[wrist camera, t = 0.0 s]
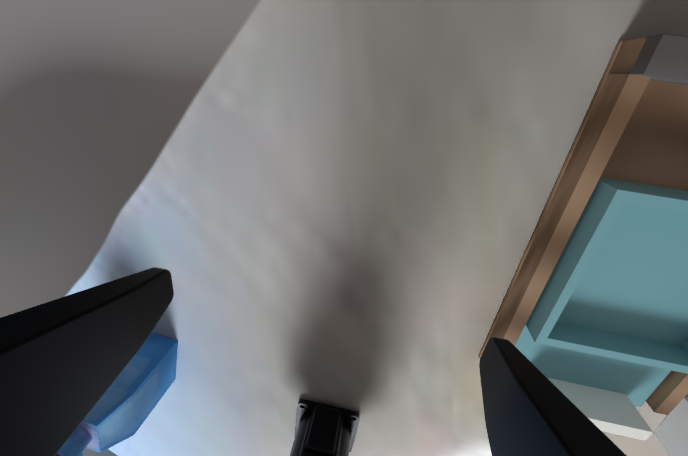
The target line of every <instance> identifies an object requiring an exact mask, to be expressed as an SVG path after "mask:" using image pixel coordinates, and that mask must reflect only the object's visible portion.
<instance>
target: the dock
mask: <svg viewBox="0 0 688 456" xmlns="http://www.w3.org/2000/svg"><path fill="white" fill-rule="evenodd" d="M600 177H605V178H611V179H617V180H623V181H630V182H636V183H642V184H649V185H655V186H661V187H667V188H674V189H680V190H686V191H688V37H681V36H673V35H665V34H662V35H656V36H650V37H644V38H638V39H632V40H625V41H619V42H618V44H617V46H616V48H615V51H614V53H613V55H612V57H611V60H610V62H609V64H608V66H607V69H606V71H605V73H604V75H603V78H602V80H601V82H600V84H599V87H598V89H597V91H596V93H595V96H594V98H593V100H592V102H591V105H590V107H589V109H588V111H587V114H586V116H585V118H584V120H583V123H582V125H581V127H580V129H579V132H578V134H577V136H576V138H575V141H574V143H573V145H572V147H571V149H570V152H569V154H568V156H567V158H566V161H565V163H564V165H563V167H562V170H561V172H560V174H559V176H558V179H557V181H556V183H555V185H554V188H553V190H552V192H551V194H550V197H549V199H548V201H547V203H546V206H545V208H544V210H543V212H542V215H541V217H540V219H539V221H538V224H537V226H536V228H535V230H534V233H533V235H532V237H531V239H530V242H529V244H528V246H527V248H526V251H525V253H524V255H523V257H522V260H521V262H520V264H519V266H518V269H517V271H516V273H515V275H514V277H513V280H512V282H511V284H510V286H509V289H508V291H507V293H506V295H505V298H504V300H503V302H502V304H501V307H500V309H499V311H498V313H497V316H496V318H495V320H494V322H493V325H492V327H491V329H490V331H489V334H488V336H487V338H486V340H485V343H484V345H483V347H482V349H481V352H480V354H479V358H481V356H482V354H483V351H484V349H485V347H486V345H487V343H488V340H489V339H490V338H491V337H498V338H503V339H507V340H509V341H510V342H511V343H512V344H513V345H514V346H515V344H516V342H517V340H518V338H519V336H520V334H521V332H522V330H523V328H524V326H525V325H526V323H527V321H528V319H529V317H530V315H531V313H532V311H533V309H534V307H535V305H536V303H537V301H538V299H539V297H540V295H541V293H542V291H543V289H544V287H545V285H546V283H547V281H548V279H549V277H550V275H551V273H552V271H553V269H554V267H555V265H556V263H557V261H558V259H559V257H560V256H561V254H562V252H563V250H564V248H565V246H566V244H567V242H568V240H569V238H570V236H571V234H572V232H573V230H574V228H575V226H576V224H577V222H578V220H579V218H580V216H581V214H582V212H583V210H584V208H585V206H586V204H587V202H588V200H589V198H590V196H591V194H592V192H593V190H594V188H595V186H596V185H597V183H598V181H599V179H600ZM687 394H688V374H686V373H681V372H677V371H672V370H671V372H670V373H669V374H668V375H667V376H666V377H665V379H664V380H663V381H662V382H661V383H660V384H659V386H658V387H657V388H656V389H655V390H654V391H653V393H652V394H651V395H650V396H649V397H648V398H647V400H646V402H647V403H648V405H649V406H650V407H651V409H652V410H653V411H654V412H656V413H661V414H665V415H668V414H669V413H670V412H671V411H672V410H673V409H674V408H675V407H676V406H677V405H678V404H679V403H680V402H681V401H682V399H683V398H684V397H685V396H686V395H687Z"/></svg>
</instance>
